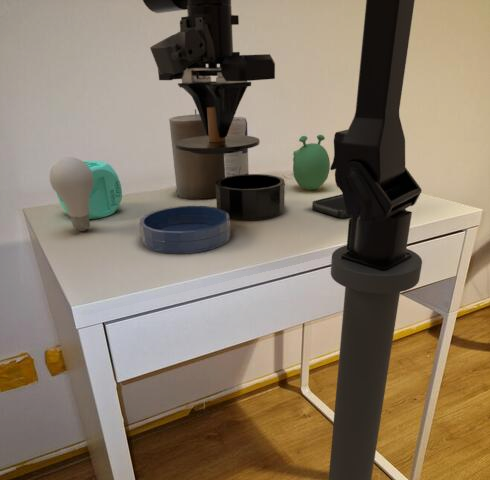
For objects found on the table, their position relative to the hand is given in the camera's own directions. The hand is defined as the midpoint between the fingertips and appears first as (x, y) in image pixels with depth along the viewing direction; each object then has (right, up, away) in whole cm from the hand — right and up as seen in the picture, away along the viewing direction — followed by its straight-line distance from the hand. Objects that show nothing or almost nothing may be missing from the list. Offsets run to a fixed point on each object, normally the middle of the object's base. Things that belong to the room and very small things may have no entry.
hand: (216, 136), depth 68 cm
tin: (+5, -8, +12) cm, 15 cm away
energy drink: (+2, +4, +34) cm, 34 cm away
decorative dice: (-22, -8, +14) cm, 27 cm away
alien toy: (+17, -1, +24) cm, 29 cm away
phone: (+24, -7, +13) cm, 28 cm away
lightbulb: (-21, -13, +5) cm, 25 cm away
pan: (-4, -15, +1) cm, 15 cm away
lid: (0, -1, +1) cm, 1 cm away
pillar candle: (-4, -2, +23) cm, 24 cm away
